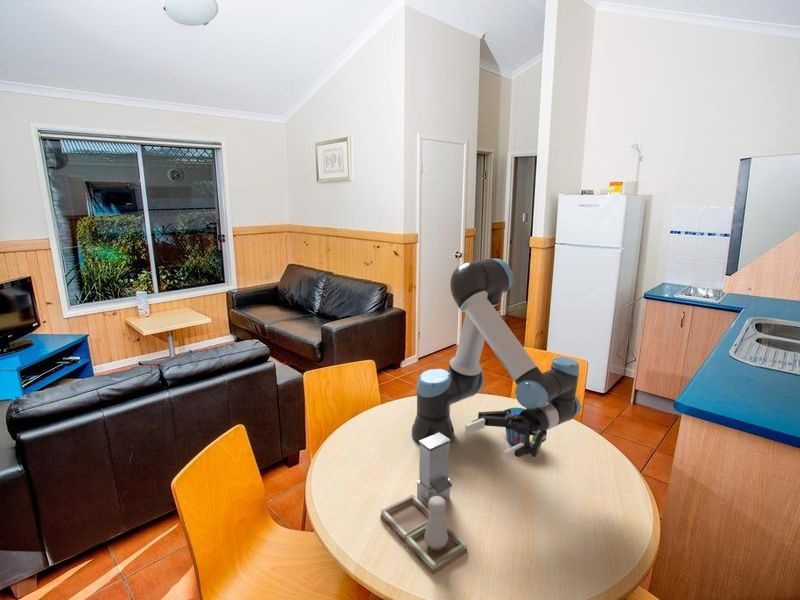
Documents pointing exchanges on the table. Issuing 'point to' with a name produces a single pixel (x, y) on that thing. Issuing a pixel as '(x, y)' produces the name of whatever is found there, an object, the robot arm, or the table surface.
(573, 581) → the table surface
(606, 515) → the table surface
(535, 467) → the table surface
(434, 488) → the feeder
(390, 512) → the grey brown flat rectangle
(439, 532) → the salt shaker
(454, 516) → the table surface
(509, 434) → the snack cup
